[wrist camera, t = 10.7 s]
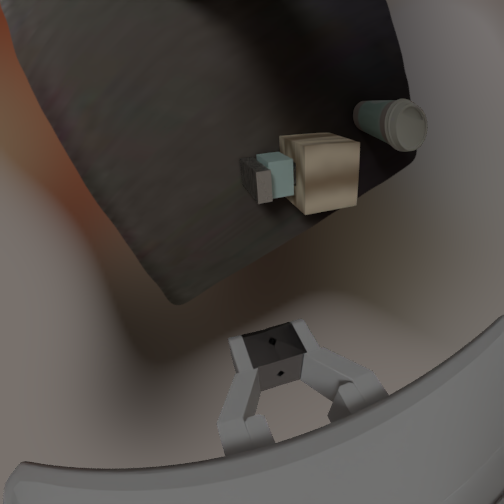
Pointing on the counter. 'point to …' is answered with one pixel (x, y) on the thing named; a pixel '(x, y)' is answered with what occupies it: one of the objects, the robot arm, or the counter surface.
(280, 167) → the pale teal block
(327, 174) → the block
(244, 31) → the counter surface
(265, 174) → the grey elongated piece
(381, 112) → the coffee cup
